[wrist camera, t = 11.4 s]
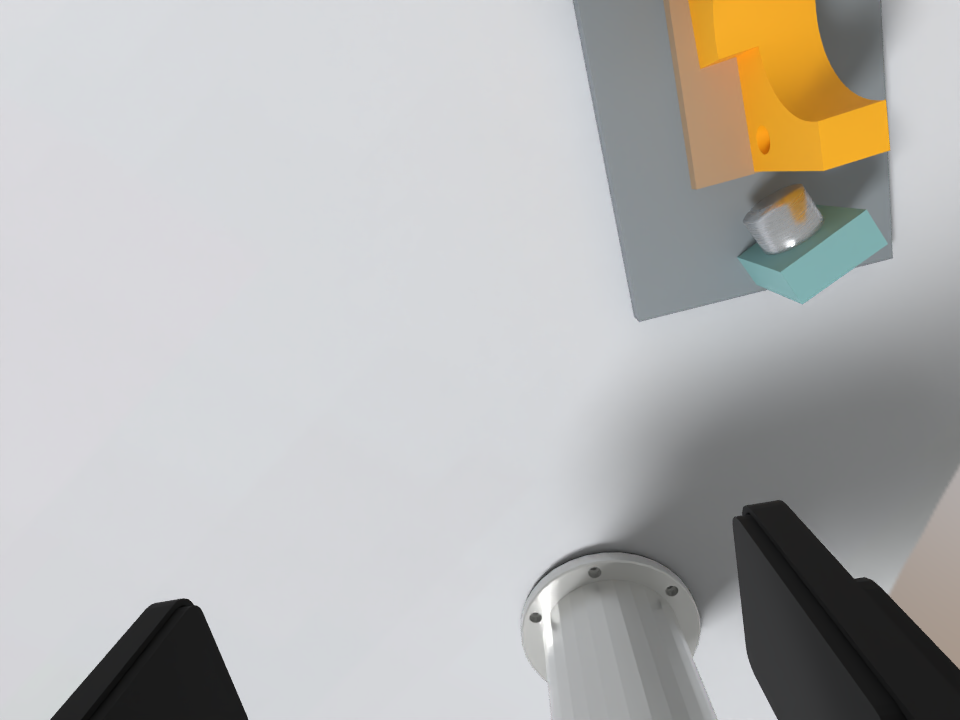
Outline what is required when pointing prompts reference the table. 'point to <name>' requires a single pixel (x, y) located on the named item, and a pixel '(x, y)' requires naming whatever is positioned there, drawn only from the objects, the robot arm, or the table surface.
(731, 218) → the stand
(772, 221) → the short metal cylinder
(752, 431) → the table surface
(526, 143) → the table surface
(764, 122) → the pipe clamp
